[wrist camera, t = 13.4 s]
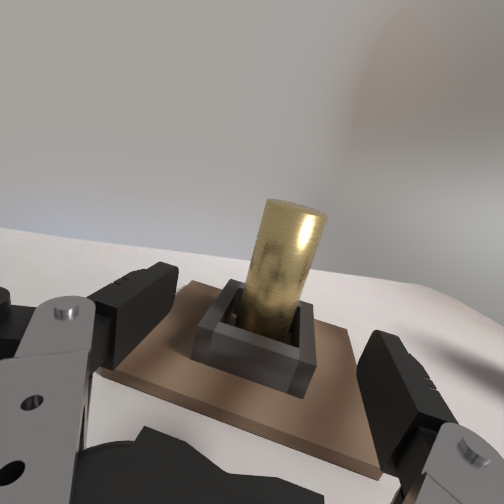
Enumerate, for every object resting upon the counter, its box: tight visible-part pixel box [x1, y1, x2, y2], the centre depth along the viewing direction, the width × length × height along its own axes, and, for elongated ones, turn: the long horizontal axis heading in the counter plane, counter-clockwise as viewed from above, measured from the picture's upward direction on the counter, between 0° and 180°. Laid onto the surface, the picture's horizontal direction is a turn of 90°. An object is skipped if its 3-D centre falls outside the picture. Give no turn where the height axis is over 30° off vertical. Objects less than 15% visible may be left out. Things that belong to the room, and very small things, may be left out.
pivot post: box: [234, 199, 328, 343], centre depth 20 cm, size 4×4×12 cm
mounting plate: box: [102, 279, 384, 480], centre depth 22 cm, size 18×14×4 cm
